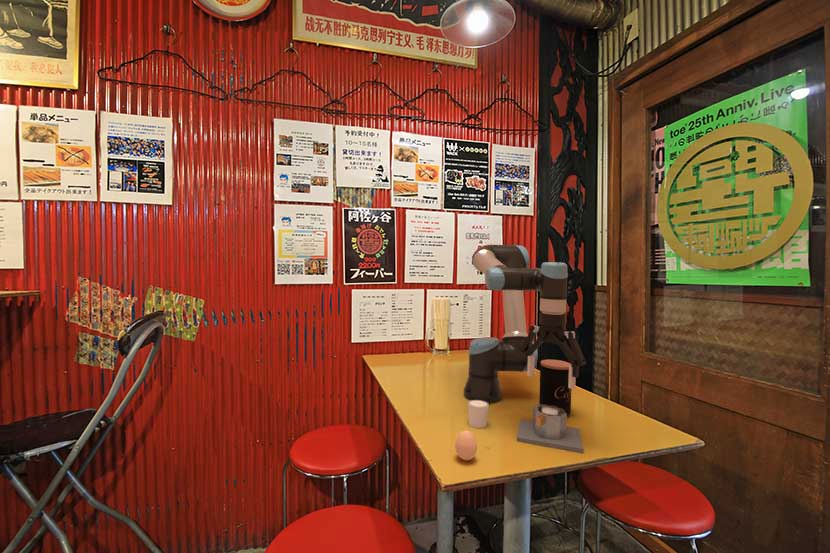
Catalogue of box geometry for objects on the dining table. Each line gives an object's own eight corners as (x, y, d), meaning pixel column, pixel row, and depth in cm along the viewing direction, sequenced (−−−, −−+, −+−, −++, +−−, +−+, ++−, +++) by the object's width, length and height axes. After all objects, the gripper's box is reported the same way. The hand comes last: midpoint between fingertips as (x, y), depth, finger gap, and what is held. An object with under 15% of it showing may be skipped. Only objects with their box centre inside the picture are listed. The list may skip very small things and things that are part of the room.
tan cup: (465, 420, 120) (465, 399, 120) (485, 419, 121) (485, 399, 121) (469, 429, 113) (470, 407, 113) (491, 428, 114) (491, 407, 114)
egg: (452, 462, 94) (453, 433, 93) (457, 452, 99) (458, 425, 99) (474, 467, 91) (475, 437, 91) (478, 456, 97) (479, 428, 97)
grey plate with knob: (516, 441, 106) (517, 413, 106) (520, 422, 119) (520, 398, 119) (583, 453, 100) (584, 424, 100) (579, 432, 113) (579, 406, 113)
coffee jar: (556, 421, 121) (557, 368, 121) (532, 409, 131) (533, 361, 130) (577, 415, 126) (578, 365, 126) (553, 405, 136) (554, 358, 135)
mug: (552, 443, 102) (552, 419, 102) (524, 432, 109) (525, 409, 109) (570, 433, 109) (570, 411, 109) (543, 423, 116) (544, 402, 116)
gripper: (600, 316, 102) (597, 390, 102) (524, 307, 121) (522, 369, 121) (588, 319, 97) (585, 395, 97) (510, 308, 116) (508, 373, 117)
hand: (550, 381), depth 109 cm, fingers open, 13 cm apart
